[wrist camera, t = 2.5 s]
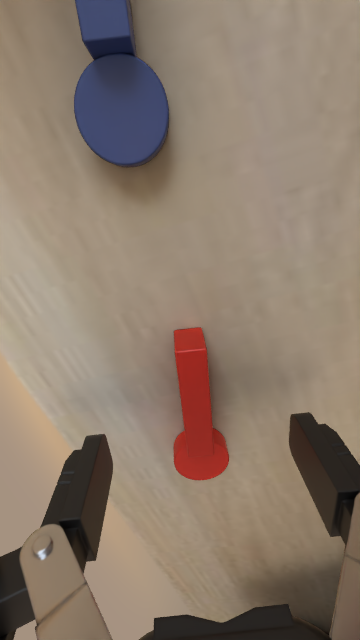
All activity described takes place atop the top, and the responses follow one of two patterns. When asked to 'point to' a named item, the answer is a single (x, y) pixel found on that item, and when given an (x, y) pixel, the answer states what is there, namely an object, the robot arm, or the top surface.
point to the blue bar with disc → (118, 88)
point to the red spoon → (196, 411)
